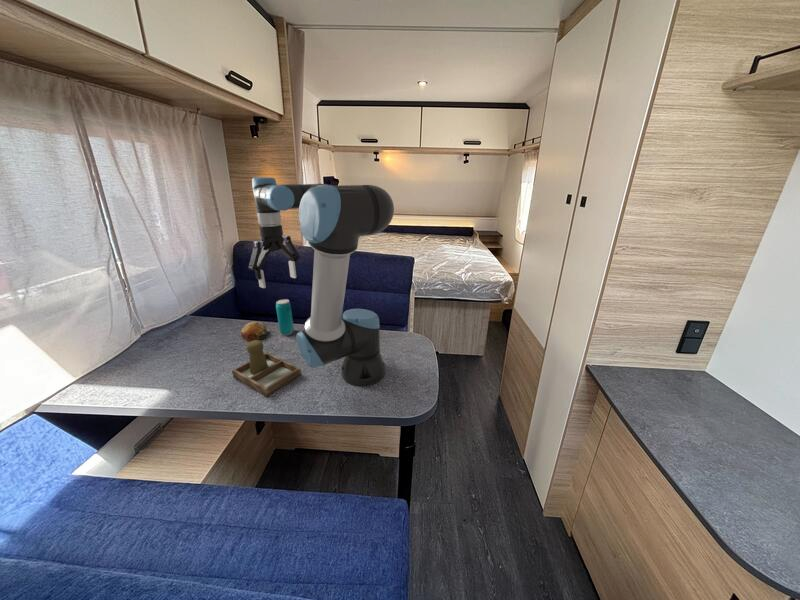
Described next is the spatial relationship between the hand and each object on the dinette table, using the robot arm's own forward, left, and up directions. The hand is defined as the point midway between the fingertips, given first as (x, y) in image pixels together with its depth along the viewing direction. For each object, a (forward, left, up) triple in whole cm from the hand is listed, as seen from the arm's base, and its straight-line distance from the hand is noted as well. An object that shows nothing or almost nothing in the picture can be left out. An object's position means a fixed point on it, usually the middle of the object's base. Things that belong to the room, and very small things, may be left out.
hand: (278, 282), depth 117 cm
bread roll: (+17, +3, -27) cm, 32 cm away
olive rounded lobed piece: (-8, +18, -26) cm, 32 cm away
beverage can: (+8, -6, -27) cm, 29 cm away
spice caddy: (-12, +18, -27) cm, 34 cm away
